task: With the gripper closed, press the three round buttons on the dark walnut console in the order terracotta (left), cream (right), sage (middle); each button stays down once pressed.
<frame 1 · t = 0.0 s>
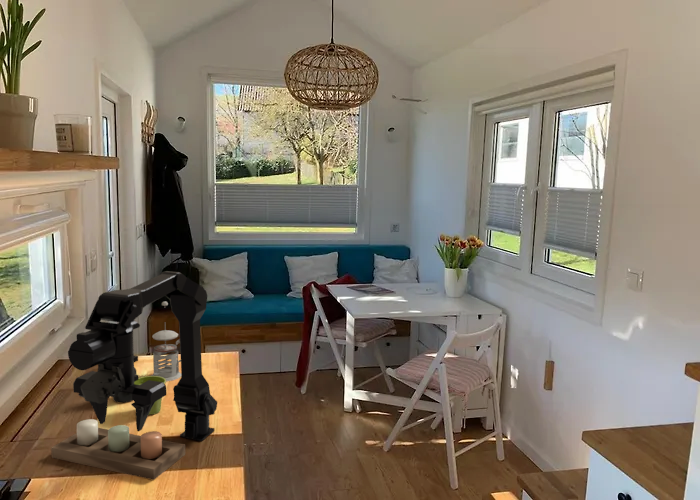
hand: (120, 426, 116), 15 cm above the table, tool pointing down, fingers open, 9 cm apart
french press: (168, 376, 184), on the table
plant pot: (148, 412, 158), on the table
button sage: (118, 438, 133), point 4 cm above the table, slide at 0.0 cm
supplement bottle: (125, 399, 166), on the table
button rust: (151, 444, 130), point 4 cm above the table, slide at 0.0 cm
button cream: (87, 432, 135), point 4 cm above the table, slide at 0.0 cm
console: (119, 455, 133), on the table
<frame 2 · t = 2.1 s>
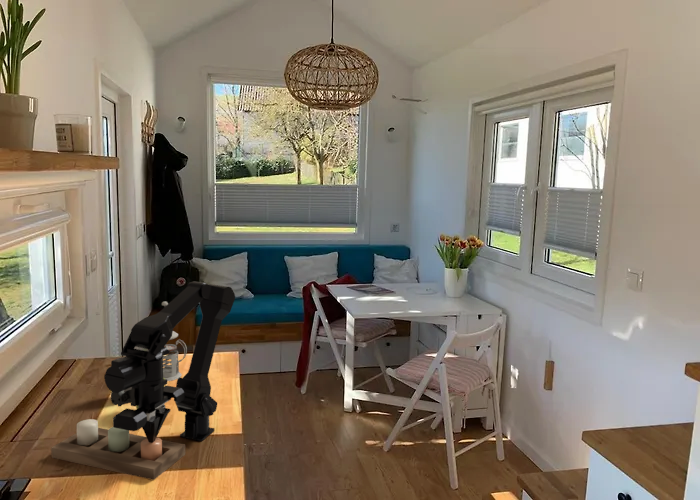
hand: (151, 441, 130), 5 cm above the table, tool pointing down, fingers closed, pressing on button rust
button rust: (151, 451, 130), point 3 cm above the table, slide at 1.5 cm, touching gripper
everything else where it was.
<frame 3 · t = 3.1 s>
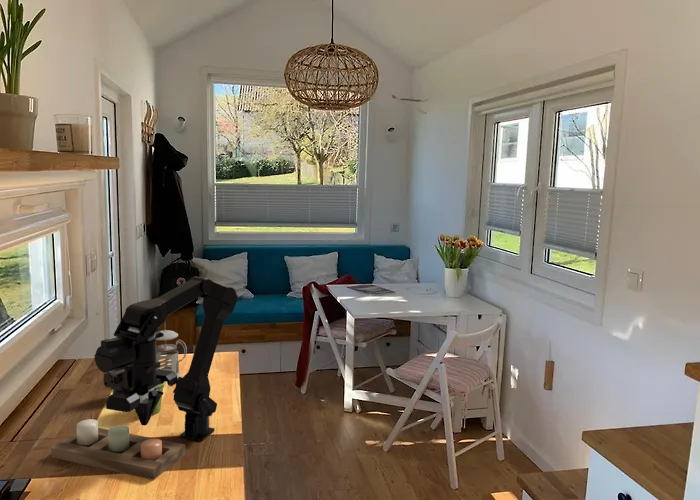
hand: (144, 424, 130), 9 cm above the table, tool pointing down, fingers closed
button rust: (151, 452, 130), point 3 cm above the table, slide at 1.9 cm
everything else where it was.
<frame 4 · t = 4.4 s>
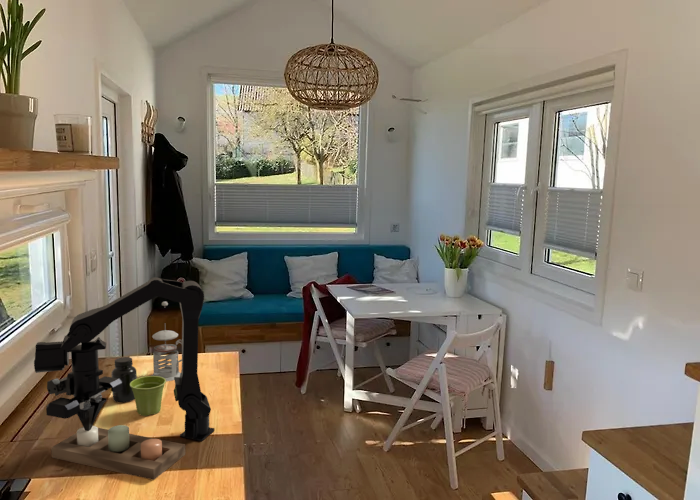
hand: (87, 430, 135), 5 cm above the table, tool pointing down, fingers closed, pressing on button cream
button cream: (87, 438, 135), point 3 cm above the table, slide at 1.7 cm, touching gripper
everything else where it was.
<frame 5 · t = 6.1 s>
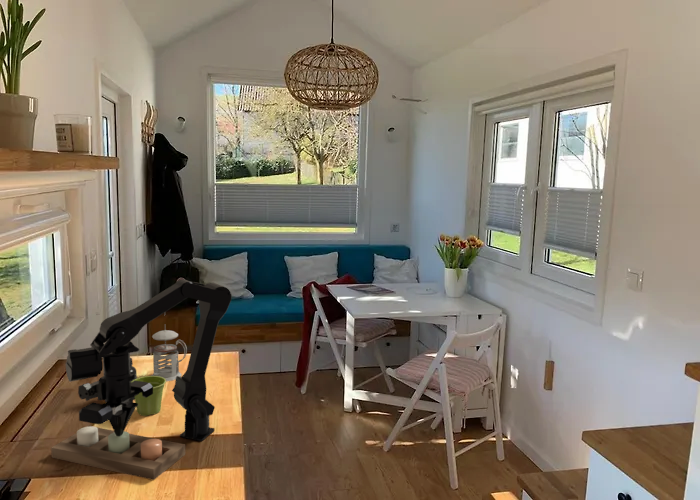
hand: (119, 435, 133), 5 cm above the table, tool pointing down, fingers closed, pressing on button sage
button sage: (119, 444, 133), point 3 cm above the table, slide at 1.5 cm, touching gripper
button cream: (87, 439, 135), point 3 cm above the table, slide at 1.8 cm
everything else where it was.
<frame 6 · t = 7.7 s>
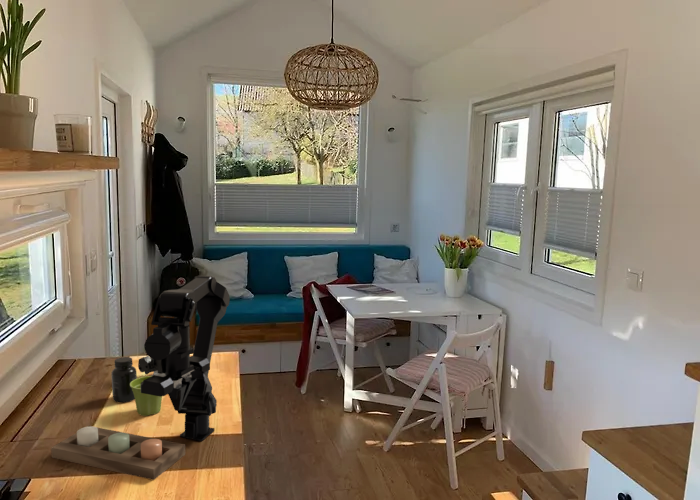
hand: (177, 410, 131), 12 cm above the table, tool pointing down, fingers closed
button sage: (119, 445, 133), point 3 cm above the table, slide at 1.9 cm
everything else where it was.
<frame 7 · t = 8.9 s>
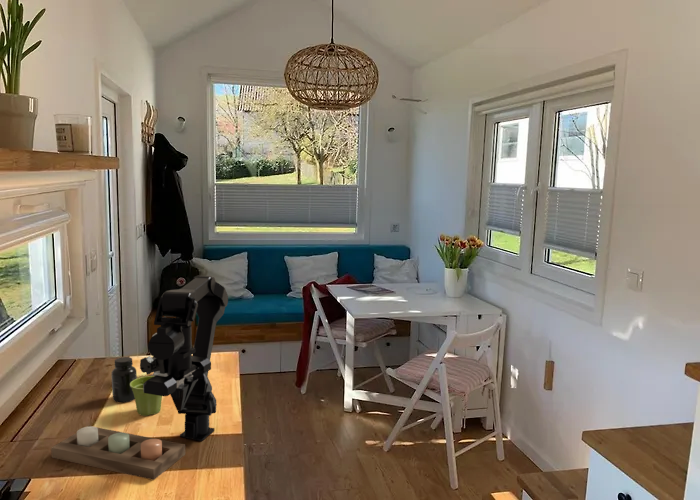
hand: (179, 410, 131), 12 cm above the table, tool pointing down, fingers closed
nothing on the table moved.
at the end: button rust slide at 1.9 cm; button cream slide at 1.8 cm; button sage slide at 1.9 cm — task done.
